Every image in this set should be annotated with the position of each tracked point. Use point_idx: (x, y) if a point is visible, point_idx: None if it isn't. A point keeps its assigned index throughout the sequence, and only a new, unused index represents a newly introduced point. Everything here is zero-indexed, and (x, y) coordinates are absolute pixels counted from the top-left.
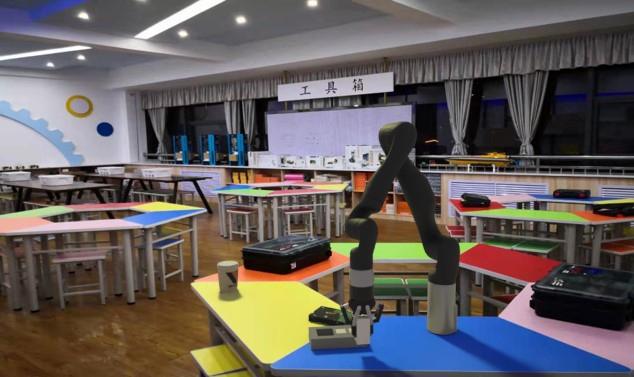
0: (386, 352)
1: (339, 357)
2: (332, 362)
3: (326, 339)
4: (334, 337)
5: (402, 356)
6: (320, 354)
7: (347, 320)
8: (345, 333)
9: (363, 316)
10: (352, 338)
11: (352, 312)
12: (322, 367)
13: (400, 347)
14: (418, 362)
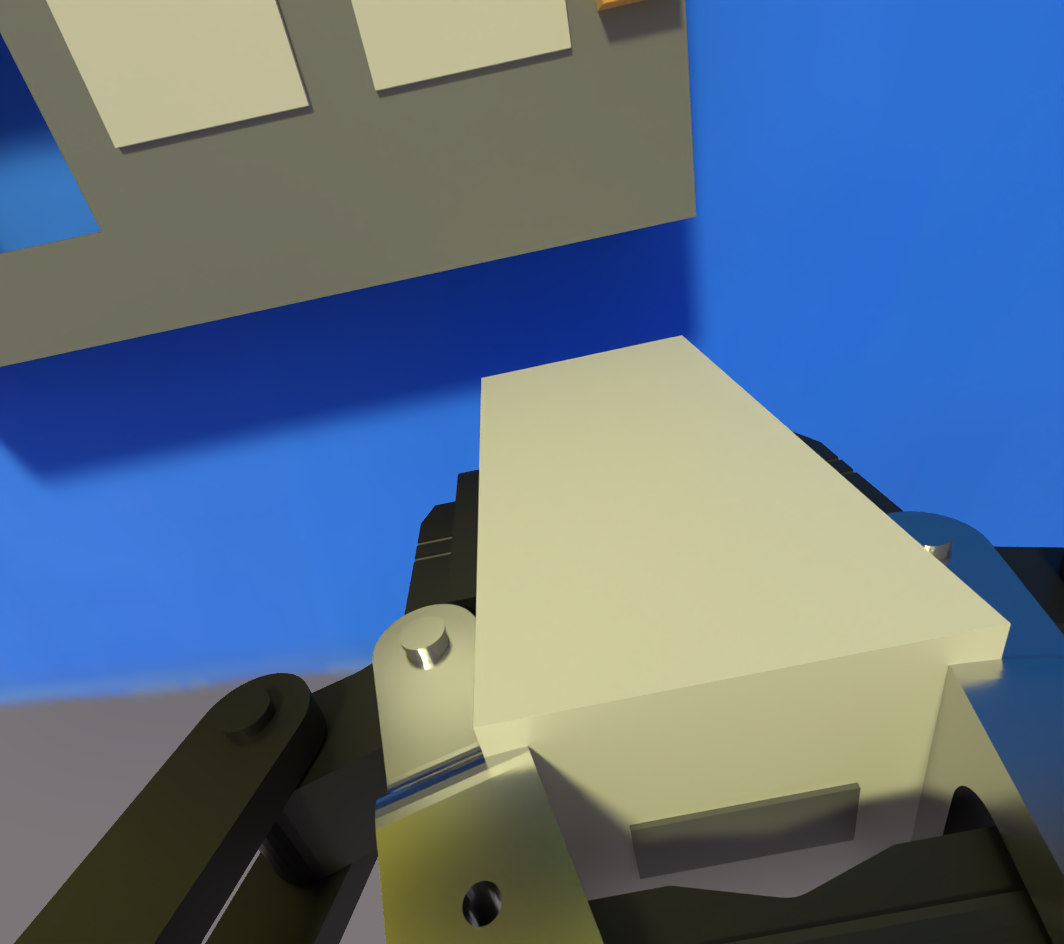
0: (842, 341)
1: (327, 497)
2: (279, 588)
3: (21, 361)
4: (133, 319)
5: (974, 411)
6: (94, 459)
7: (300, 928)
8: (290, 123)
9: (787, 848)
10: (442, 270)
11: (392, 908)
12: (212, 666)
13: (1058, 192)
14: (1060, 502)
